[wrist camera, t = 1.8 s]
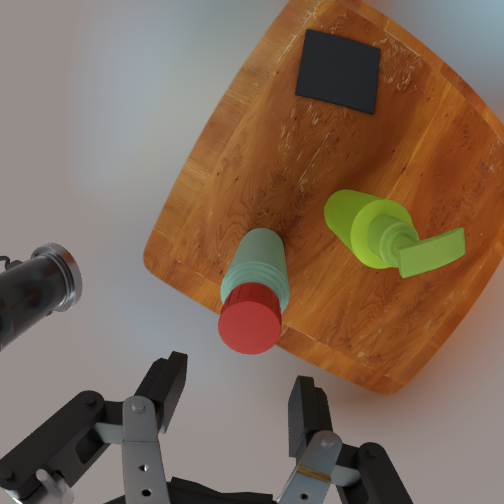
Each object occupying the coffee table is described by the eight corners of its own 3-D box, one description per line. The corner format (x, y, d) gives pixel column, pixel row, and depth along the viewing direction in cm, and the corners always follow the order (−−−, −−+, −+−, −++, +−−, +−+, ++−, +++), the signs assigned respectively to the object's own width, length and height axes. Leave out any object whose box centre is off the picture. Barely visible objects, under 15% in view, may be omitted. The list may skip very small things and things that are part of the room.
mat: (295, 94, 31) (295, 93, 31) (306, 30, 28) (306, 28, 28) (372, 114, 31) (373, 113, 30) (378, 50, 28) (380, 49, 28)
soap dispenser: (379, 226, 35) (469, 282, 15) (330, 241, 36) (385, 314, 17) (369, 182, 33) (464, 198, 14) (318, 196, 34) (371, 225, 15)
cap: (222, 324, 22) (214, 348, 19) (229, 276, 21) (222, 294, 17) (274, 334, 22) (273, 359, 18) (285, 287, 20) (287, 307, 17)
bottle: (236, 266, 38) (203, 350, 19) (243, 223, 36) (212, 277, 18) (279, 274, 37) (282, 365, 19) (288, 232, 36) (302, 294, 18)
